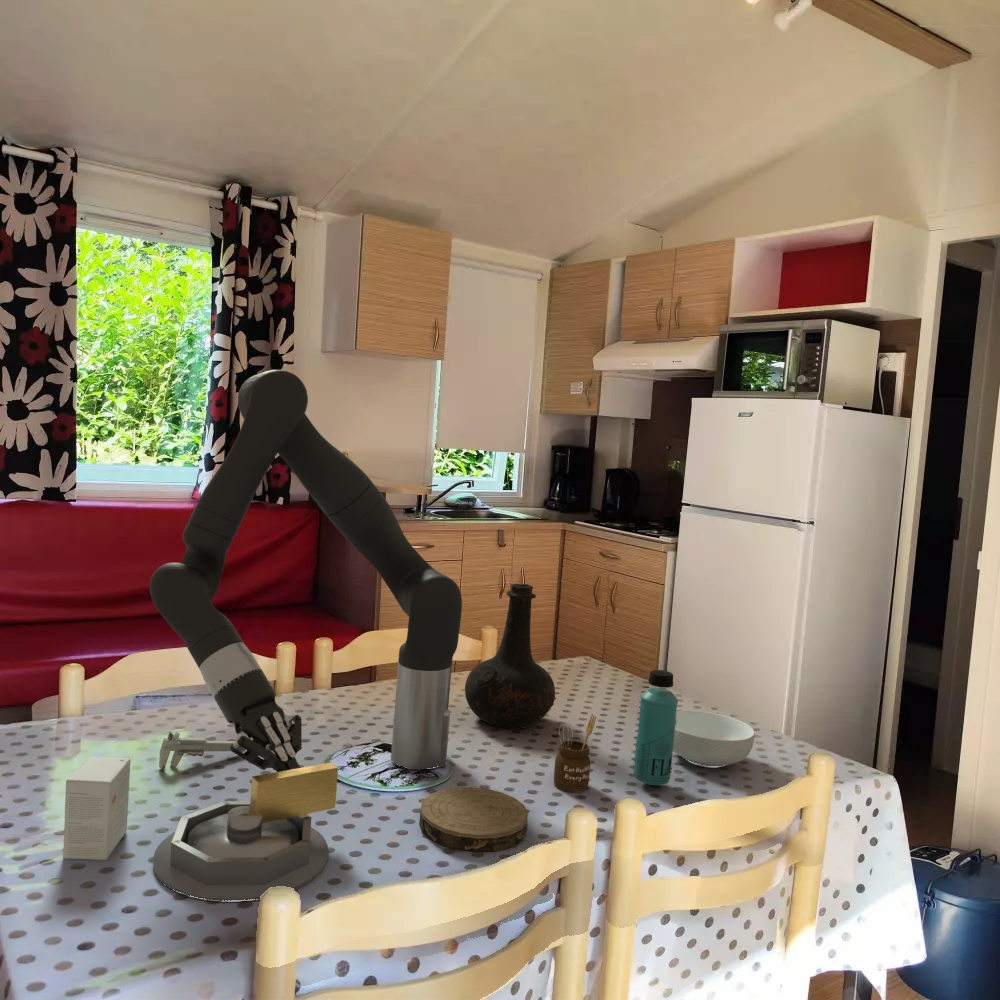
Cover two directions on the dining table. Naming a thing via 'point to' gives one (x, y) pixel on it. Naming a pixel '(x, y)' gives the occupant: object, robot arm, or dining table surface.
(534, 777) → the dining table surface
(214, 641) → the robot arm
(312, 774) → the dial
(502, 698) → the glass bottle
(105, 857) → the small box
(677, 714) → the cereal bowl
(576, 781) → the utensil holder
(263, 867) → the dial housing
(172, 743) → the caliper
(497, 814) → the wooden log slice
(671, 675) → the beverage bottle
